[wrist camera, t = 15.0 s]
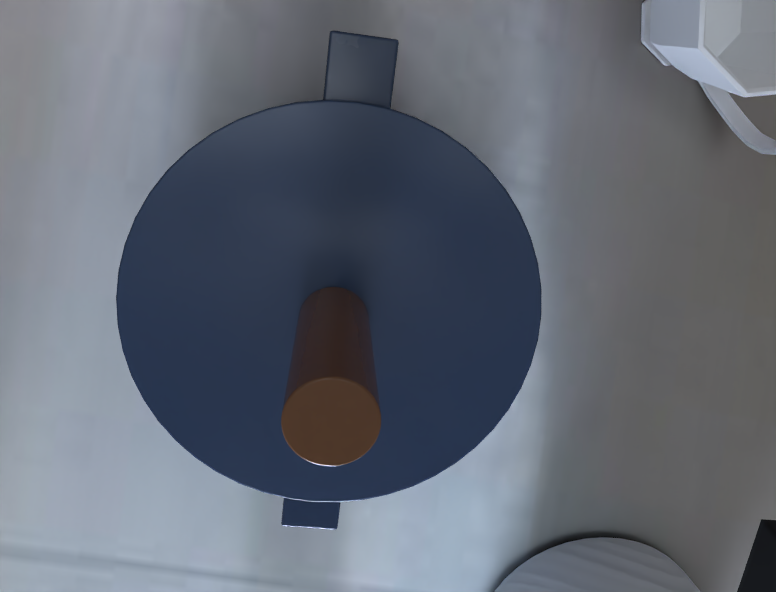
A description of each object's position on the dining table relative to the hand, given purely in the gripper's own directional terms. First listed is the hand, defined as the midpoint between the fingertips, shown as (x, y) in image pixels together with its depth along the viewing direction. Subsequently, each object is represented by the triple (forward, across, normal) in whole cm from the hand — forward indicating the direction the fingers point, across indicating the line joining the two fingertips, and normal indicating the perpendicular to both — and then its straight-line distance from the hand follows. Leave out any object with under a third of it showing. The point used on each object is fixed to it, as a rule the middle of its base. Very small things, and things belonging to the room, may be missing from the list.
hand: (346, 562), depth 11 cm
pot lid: (+16, 0, -1) cm, 16 cm away
